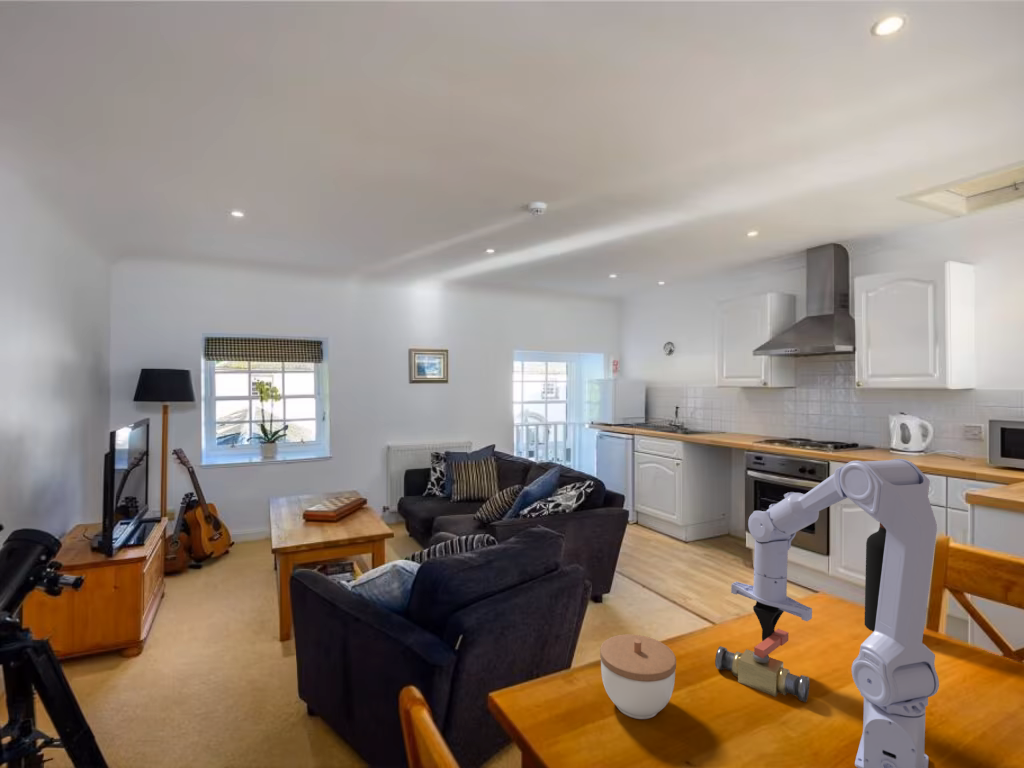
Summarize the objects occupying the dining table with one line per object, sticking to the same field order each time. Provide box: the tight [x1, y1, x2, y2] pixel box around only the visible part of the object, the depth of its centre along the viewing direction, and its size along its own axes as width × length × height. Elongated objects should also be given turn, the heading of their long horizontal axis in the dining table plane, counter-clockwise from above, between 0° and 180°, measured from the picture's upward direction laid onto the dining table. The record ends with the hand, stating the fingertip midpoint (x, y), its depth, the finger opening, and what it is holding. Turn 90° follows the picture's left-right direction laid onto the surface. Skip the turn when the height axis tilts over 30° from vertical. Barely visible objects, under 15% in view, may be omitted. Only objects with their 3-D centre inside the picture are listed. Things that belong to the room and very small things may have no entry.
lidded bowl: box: [599, 633, 677, 720], centre depth 86 cm, size 13×13×11 cm
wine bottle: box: [864, 522, 886, 633], centre depth 113 cm, size 8×8×30 cm
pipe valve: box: [714, 645, 810, 703], centre depth 93 cm, size 15×5×4 cm, turn 49°
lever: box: [753, 628, 789, 663], centre depth 95 cm, size 11×3×2 cm, turn 129°
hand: (768, 642), depth 98 cm, fingers closed, pressing on lever
